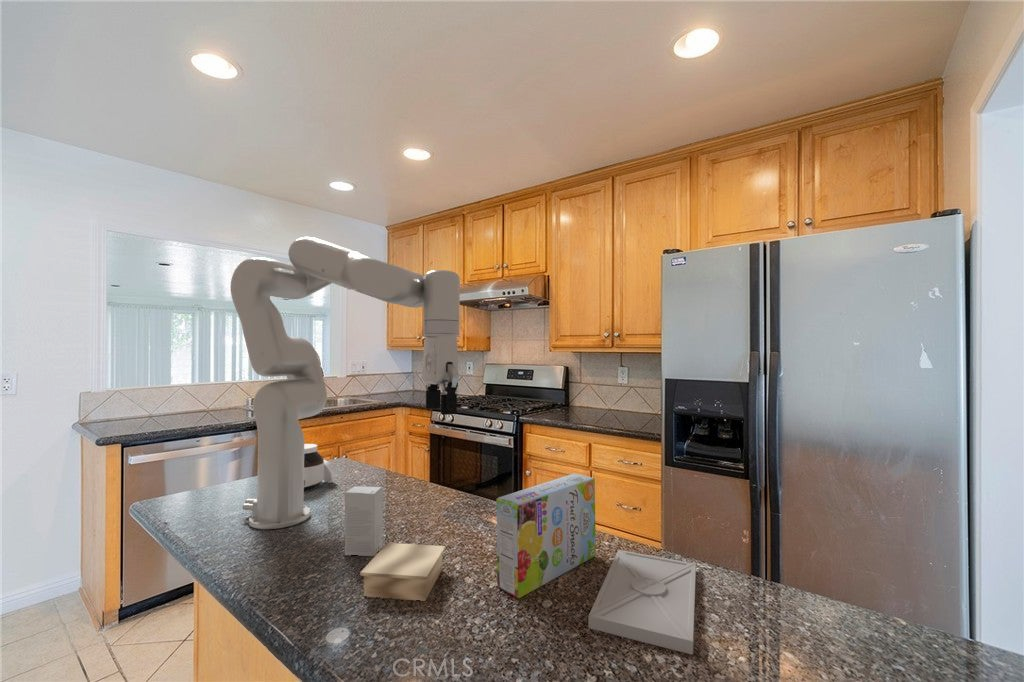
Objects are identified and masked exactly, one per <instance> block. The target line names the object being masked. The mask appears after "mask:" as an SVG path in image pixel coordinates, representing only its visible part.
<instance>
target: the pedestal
mask: <svg viewBox="0 0 1024 682" xmlns="http://www.w3.org/2000/svg"><path fill="white" fill-rule="evenodd" d="M445 550H446V546H445V545H434V544H433V545H432V544H431V545H430V544H417V543H415V544H414V543H399V542H398V543H396V542H386V544H384V545H383V546H382V548H381V549H380V550H379V552H378V553H377V554H376V555H375V556H373V558H372V559H371V560H370V561H369V563H368V564H366V566H365V567H364V568H363V569H362V570H361V571H360V574H359V575H360V576H361V577H362V576H363V597H364V596H367V597H366V598H376V597H378V598H379V597H380V598H379V599H389V598H392V599H393V600H404V601H406V600H407V601H416V600H420V602H426V600H427V598H428V597H429V595H430V592H431V591H432V590H433V587H434V585H435V584H436V582H437V580H438V578H439V576H440V575H441V573H442V570H443V553H444V552H445ZM368 596H369V597H368ZM378 598H377V599H378ZM392 599H391V600H392Z"/></svg>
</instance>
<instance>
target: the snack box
mask: <svg viewBox="0 0 1024 682" xmlns="http://www.w3.org/2000/svg"><path fill="white" fill-rule="evenodd" d="M595 480H596V479H595V477H591V476H589V475H588V476H587V475H584V474H580V473H575V472H574V473H571V474H568V475H564V476H562V477H558V478H556V479H551V480H550V481H545V482H543V483H540V484H537V485H534V486H531V487H527V488H524V489H521V490H518V491H515V492H512V493H507V494H506V495H502V496H498V497H497V498H496V573H497V576H496V578H497V579H496V580H497V589H500V590H501V591H504V592H506V593H507V594H510V595H511V596H513V597H515V598H517V599H521V598H522V597H525V595H528V594H529V593H532V592H533V591H535V590H537V589H538V588H540V587H542V586H544V585H545V584H547V583H549V582H552V581H553V580H554V579H557V578H558V577H560V576H562V575H564V574H566V573H567V572H570V571H571V570H572V569H574V568H576V567H578V566H580V565H582V564H583V563H585V562H587V561H589V560H591V559H594V557H596V556H597V545H596V544H597V543H596V542H597V537H596V536H597V533H596V484H595V482H596V481H595Z"/></svg>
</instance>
